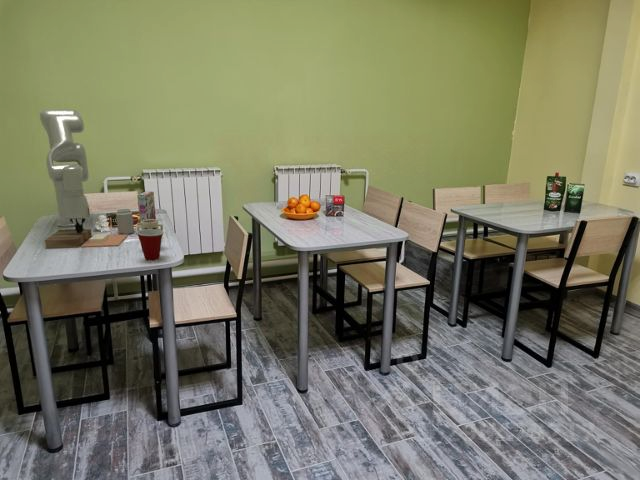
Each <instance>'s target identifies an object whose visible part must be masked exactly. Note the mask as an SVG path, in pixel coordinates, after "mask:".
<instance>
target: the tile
mask: <svg viewBox="0 0 640 480" xmlns="http://www.w3.org/2000/svg"><path fill="white" fill-rule="evenodd" d="M109 235H110V234H109V233H96V234H94V235H92V237H91V238H90V239H88V240H89V243H104V242H105V241H106V240H107V239H108V238H109Z"/></svg>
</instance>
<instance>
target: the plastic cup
mask: <svg viewBox="0 0 640 480" xmlns="http://www.w3.org/2000/svg"><path fill="white" fill-rule="evenodd" d="M136 235H137V237H138V240H139V243H140V246H141V249H142V253H143V256H144V259H145V260H146V261H148V260H152V261H157V260H159V259H160V256H161V247H162V239H163V235H164V230H163V231H161V230H156V229H145V230H142V229H139V231H137V230H136ZM156 259H157V260H156Z"/></svg>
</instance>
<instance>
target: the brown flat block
mask: <svg viewBox="0 0 640 480" xmlns="http://www.w3.org/2000/svg"><path fill="white" fill-rule="evenodd" d="M91 237H93V235H92V228H83V232H81V233H77V231H76V230H75V228H74V229H73V228H70V229H66V228H65V229H58V230H57V231H56V232H54V233H53V234H52V235H50V236H49V237H47V238H45V239H44V244H45V249H69V248H70V249H71V248H72V249H73V248H75V249H76V248H78V249H79V248H81V246H82V245H83V244H84V243H86V242H87V241H88V240H89V239H90V238H91Z"/></svg>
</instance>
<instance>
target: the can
mask: <svg viewBox="0 0 640 480" xmlns="http://www.w3.org/2000/svg"><path fill="white" fill-rule="evenodd" d="M115 217H116V224H117V233H118V234H119V235H127V234H128V235H131V234H133V233H134V232H135V227H134V218H133V217H134V216H133V211H131V209H130V208H120V209H117V211H116V213H115Z"/></svg>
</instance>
